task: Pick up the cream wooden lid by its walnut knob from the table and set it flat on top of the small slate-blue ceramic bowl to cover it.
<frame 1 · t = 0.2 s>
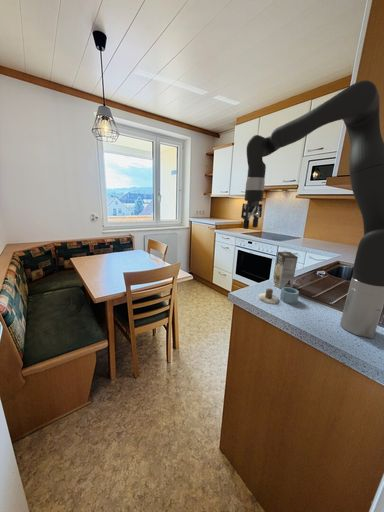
hand: (250, 228, 93), 28 cm above the worktop, tool pointing down, fingers open, 8 cm apart
coffee box: (282, 285, 105), on the worktop
bowl: (288, 300, 90), on the worktop
lid: (268, 299, 90), on the worktop
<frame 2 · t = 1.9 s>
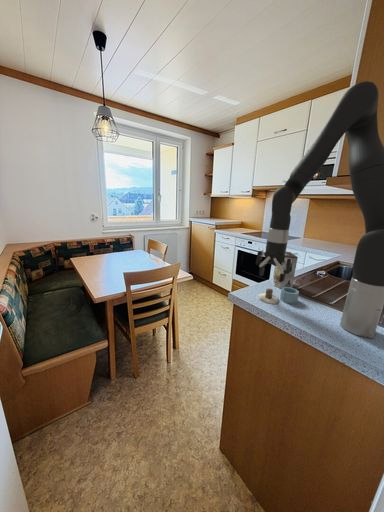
hand: (270, 278, 88), 9 cm above the worktop, tool pointing down, fingers open, 8 cm apart
nothing on the worktop moved.
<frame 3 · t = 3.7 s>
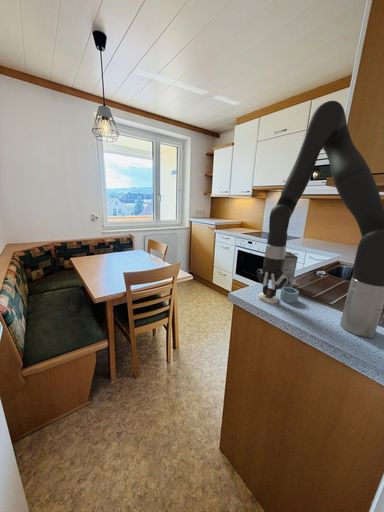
hand: (268, 295, 89), 2 cm above the worktop, tool pointing down, fingers closed on lid, 2 cm apart
lid: (268, 299, 90), on the worktop, touching gripper
everything else where it was.
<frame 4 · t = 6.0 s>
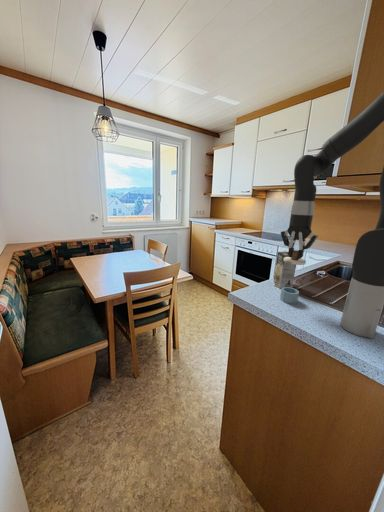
hand: (294, 257, 84), 19 cm above the worktop, tool pointing down, fingers closed on lid, 2 cm apart
lid: (294, 261, 85), point 17 cm above the worktop, touching gripper
everything else where it was.
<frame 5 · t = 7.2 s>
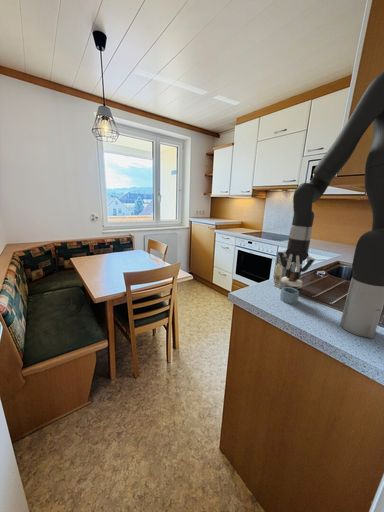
hand: (292, 278, 87), 10 cm above the worktop, tool pointing down, fingers closed on lid, 2 cm apart
lid: (291, 282, 88), point 8 cm above the worktop, touching gripper
everything else where it was.
when the fingers open (7 cm above the worktop, at t = 8.3 s): lid stays where it is, resting on bowl.
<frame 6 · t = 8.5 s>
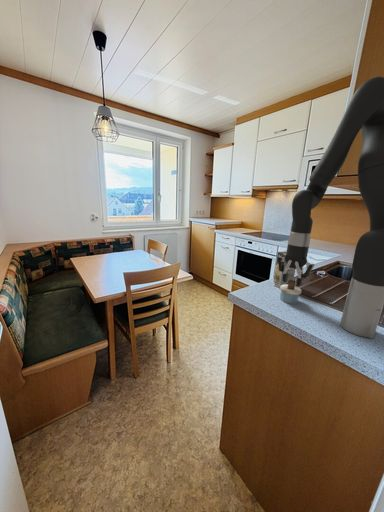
hand: (291, 283, 88), 7 cm above the worktop, tool pointing down, fingers open, 4 cm apart
bowl: (288, 300, 90), on the worktop, touching lid
lid: (290, 290, 88), point 4 cm above the worktop, touching bowl
everything else where it was.
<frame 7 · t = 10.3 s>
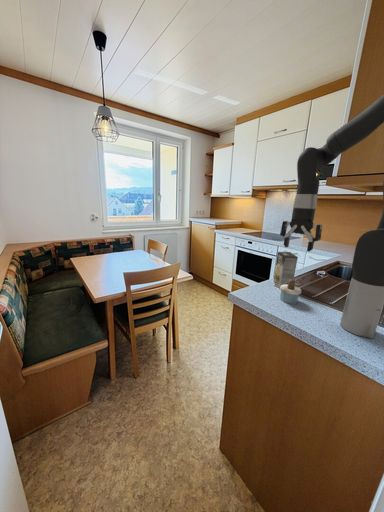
hand: (297, 249, 84), 22 cm above the worktop, tool pointing down, fingers open, 8 cm apart
nothing on the worktop moved.
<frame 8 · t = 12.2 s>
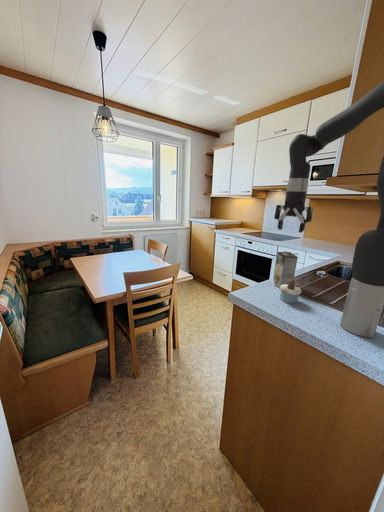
hand: (290, 230, 90), 28 cm above the worktop, tool pointing down, fingers open, 8 cm apart
nothing on the worktop moved.
at the end: lid 0.1 cm off-centre on the bowl, point 4.5 cm above the bowl's base; lid tilted 0°; the gripper is holding nothing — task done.
